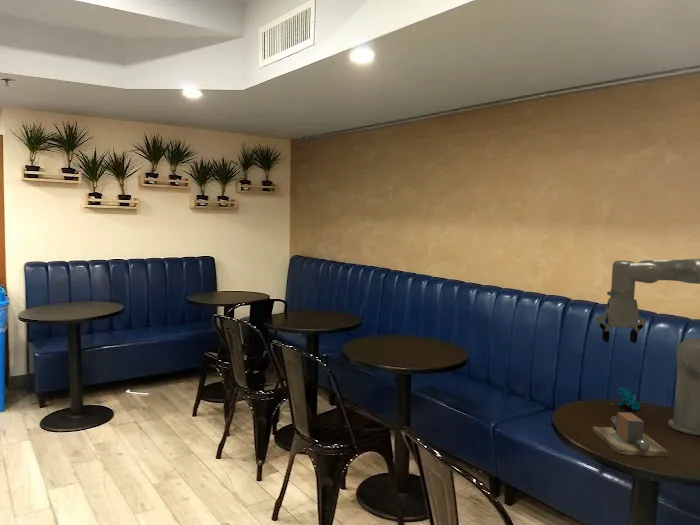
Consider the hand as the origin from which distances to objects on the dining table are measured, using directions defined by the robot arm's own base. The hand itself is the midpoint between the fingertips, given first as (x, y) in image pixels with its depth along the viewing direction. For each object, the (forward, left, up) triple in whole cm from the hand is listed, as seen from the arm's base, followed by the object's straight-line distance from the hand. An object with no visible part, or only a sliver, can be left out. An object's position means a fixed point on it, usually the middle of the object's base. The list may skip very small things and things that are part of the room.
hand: (619, 341), depth 188 cm
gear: (-11, -11, -29) cm, 33 cm away
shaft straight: (+6, +30, -26) cm, 40 cm away
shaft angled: (+6, +14, -27) cm, 31 cm away
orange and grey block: (+6, +22, -27) cm, 35 cm away
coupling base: (+6, +22, -28) cm, 36 cm away
